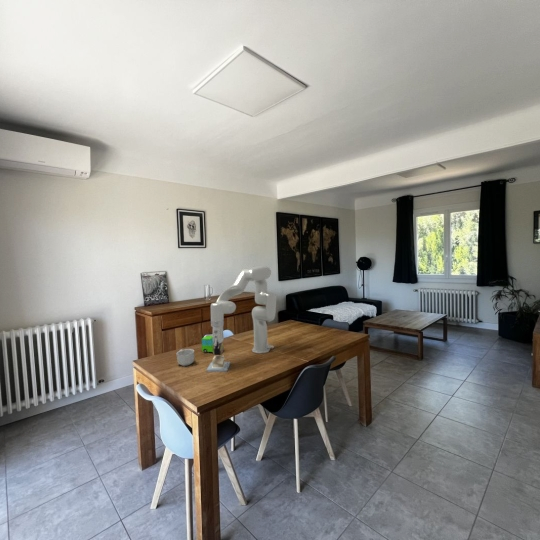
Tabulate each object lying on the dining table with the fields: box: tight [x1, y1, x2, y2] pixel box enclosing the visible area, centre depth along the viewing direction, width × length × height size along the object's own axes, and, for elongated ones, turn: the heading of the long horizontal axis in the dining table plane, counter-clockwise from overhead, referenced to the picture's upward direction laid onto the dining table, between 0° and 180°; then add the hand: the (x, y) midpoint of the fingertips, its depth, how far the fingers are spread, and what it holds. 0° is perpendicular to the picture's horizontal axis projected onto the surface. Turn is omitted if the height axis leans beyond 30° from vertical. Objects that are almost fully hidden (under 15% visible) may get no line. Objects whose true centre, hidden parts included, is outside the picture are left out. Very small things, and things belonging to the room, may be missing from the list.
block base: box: [212, 354, 226, 367], centre depth 170 cm, size 6×6×5 cm
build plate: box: [206, 361, 231, 373], centre depth 170 cm, size 12×12×1 cm
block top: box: [212, 342, 224, 356], centre depth 169 cm, size 5×5×6 cm
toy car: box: [201, 335, 225, 354], centre depth 200 cm, size 10×13×10 cm
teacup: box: [175, 348, 196, 367], centre depth 178 cm, size 14×11×8 cm
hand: (218, 352), depth 169 cm, fingers closed on block top, 4 cm apart
